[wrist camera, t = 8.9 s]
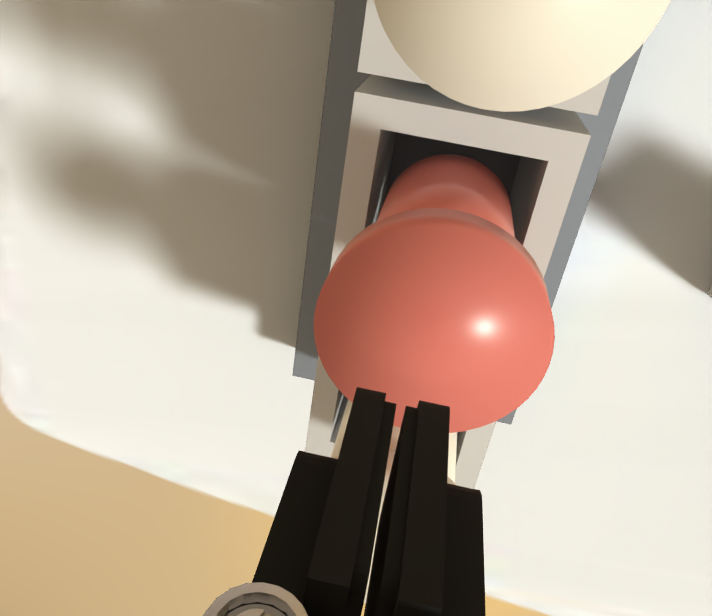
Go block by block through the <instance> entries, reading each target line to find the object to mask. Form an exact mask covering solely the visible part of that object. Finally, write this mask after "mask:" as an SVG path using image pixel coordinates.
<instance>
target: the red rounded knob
mask: <svg viewBox="0 0 712 616" xmlns="http://www.w3.org/2000/svg"><path fill="white" fill-rule="evenodd" d="M314 338H315V343H316V348H317V352H318V355H319V357H320V360H321V362H322V365H323V367H324V369H325V370H326V372H327V374H328V376H329V377H330V379H331V380H332V381H333V383H334V384H335V386H336V387H337V388H338V389H339V390H340V391H341V392H342V393H343V394H344V396H345V397H346V398H348V399H349V400H350V401H351V402H352V403H353V399H354V396H355V392H356V388H357V387H360V388H365V389H369V390H374V391H379V392H383V393H386V398H385V401H386V402H391V403H396V404H397V405H396V411H395V417H394V424H393V426H396V427H400V428H401V424H402V420H403V416H404V411H405V408H406V406H410V407H415V408H417V406H418V403H419V400H421V401H426V402H430V403H435V404H440V405H444V406H449V407H450V424H449V433H454V432H462V431H467V430H471V429H475V428H479V427H482V426H485V425H487V424H490V423H493V422H495V421H497V420H499V419H501V418H503V417H505V416H506V415H508V414H509V413H511V412H512V411H514V410H515V409H517V408H518V407H519V406H520V405H521V404H522V403H524V402H525V401H526V400H527V399H528V398H529V397H530V396H531V394H532V393H533V392H534V391H535V390H536V389H537V387H538V385H539V384H540V382H541V381H542V379H543V378H544V376H545V373H546V371H547V369H548V367H549V364H550V361H551V357H552V354H553V348H554V339H555V336H554V322H553V317H552V312H551V307H550V302H549V297H548V292H547V287H546V284H545V281H544V278H543V276H542V273H541V271H540V269H539V267H538V266H537V264H536V262H535V260H534V259H533V258H532V256H531V255H530V254H529V252H528V251H527V250H526V248H525V247H524V246H523V245H522V244H521V243H520V242H519V241H518V240H517V239H516V238H515V234H514V226H513V218H512V210H511V204H510V199H509V196H508V193H507V191H506V189H505V187H504V185H503V183H502V182H501V180H500V179H499V178H498V176H497V175H496V174H495V173H494V172H493V171H492V170H490V169H489V168H488V167H486V166H485V165H484V164H482V163H480V162H478V161H476V160H474V159H471V158H469V157H465V156H461V155H454V154H442V155H434V156H431V157H427V158H424V159H422V160H419V161H417V162H416V163H414V164H412V165H410V166H409V167H408V168H407V169H405V170H404V171H403V172H402V173H401V174H400V175H399V176H398V177H397V178H396V180H395V181H394V182H393V184H392V186H391V188H390V189H389V192H388V194H387V197H386V199H385V202H384V204H383V207H382V209H381V212H380V214H379V216H378V219H377V221H376V222H375V223H373V224H372V225H370V226H368V227H367V228H365V229H364V230H363V231H361V232H360V233H359V234H357V235H356V236H355V237H354V238H353V239H352V240H351V241H350V242H349V243H348V244H347V245H346V246H345V248H344V249H343V250H342V252H341V253H340V254H339V256H338V257H337V259H336V261H335V263H334V265H333V266H332V268H331V270H330V272H329V275H328V277H327V279H326V281H325V283H324V285H323V287H322V289H321V292H320V294H319V297H318V300H317V303H316V308H315V313H314Z"/></svg>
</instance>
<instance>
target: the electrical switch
mask: <svg viewBox="0 0 712 616" xmlns="http://www.w3.org/2000/svg"><path fill="white" fill-rule="evenodd" d="M707 294H708V295H709V296H710V297H712V285H711V287H710V289H709V291H708V293H707Z"/></svg>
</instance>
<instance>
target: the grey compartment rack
mask: <svg viewBox="0 0 712 616" xmlns="http://www.w3.org/2000/svg"><path fill="white" fill-rule="evenodd" d="M642 46H643V44H642V45H641V46H640V47H639V49H638V50H637V51H636V52H635V53H634V54H633V55H632V56H631V58H629V59H628V60H627V61H626V62H625V63H624V64H623V65H622V66H621V67H620V68H618V69H617V70H616V71H615V72H614V73H613V74H611V75H610V76H608V77H607V78H606V79H604V80H603V81H601V82H600V83H599V84H597V85H596V86H594V87H592V88H590V89H589V90H587V91H585V92H583V93H581V94H580V95H578V96H575V97H573V98H571V99H568V100H566V101H563V102H561V103H558V104H555V105H551V106H547V107H544V108H540V109H533V110H527V111H510V112H501V111H493V110H484V109H480V108H476V107H472V106H468V105H465V104H463V103H460V102H458V101H455V100H453V99H450V98H448V97H447V96H445V95H443V94H442V93H440V92H438V91H436V90H435V89H433V88H432V87H431V86H429V85H428V84H427V83H425V82H424V81H423V80H422V79H420V78H419V77H418V76H417V75H416V74H415V73H414V72H413V71H412V70H411V69H410V68H409V67H408V66H407V65H406V63H405V62H404V61H403V59H402V58H401V57H400V55H399V54H398V53H397V51H396V50H395V49H394V47H393V45H392V43H391V42H390V40H389V38H388V36H387V34H386V33H385V31H384V28H383V26H382V23H381V21H380V18H379V16H378V14H377V10H376V6H375V3H374V0H336V1H335V10H334V19H333V28H332V36H331V45H330V54H329V62H328V71H327V80H326V89H325V97H324V106H323V115H322V123H321V132H320V141H319V149H318V158H317V167H316V176H315V184H314V193H313V202H312V210H311V219H310V228H309V237H308V245H307V254H306V263H305V271H304V280H303V289H302V298H301V306H300V315H299V324H298V332H297V341H296V350H295V359H294V367H293V376H297V377H302V378H306V379H311V380H315V383H314V390H313V398H312V405H311V412H310V420H309V427H308V434H307V441H306V449H305V452H308V453H312V454H317V455H321V456H326V457H330V458H331V455H332V451H333V448H334V445H335V441H336V438H337V435H338V432H339V428H340V425H341V422H342V418H343V415H344V412H345V408H346V405H347V402H348V398H346V397H345V396H344V394H343V393H342V392H341V391H340V390H339V389H338V388H337V387H336V386H335V384H334V383H333V381H332V380H331V379H330V377H329V376H328V374H327V372H326V370H325V369H324V367H323V365H322V362H321V360H320V357H319V355H318V352H317V348H316V343H315V338H314V313H315V308H316V303H317V300H318V297H319V294H320V292H321V289H322V287H323V285H324V283H325V281H326V279H327V277H328V275H329V272H330V270H331V268H332V266H333V265H334V263H335V261H336V259H337V257H338V256H339V254H340V253H341V252H342V250H343V249H344V248H345V246H346V245H347V244H348V243H349V242H350V241H351V240H352V239H353V238H354V237H355V236H356V235H357V234H359V233H360V232H361V231H363V230H364V229H365V228H367V227H368V226H370V225H372V224H373V223H375V222H376V221H377V219H378V216H379V214H380V212H381V209H382V207H383V204H384V202H385V199H386V197H387V194H388V192H389V189H390V188H391V186H392V184H393V182H394V181H395V180H396V178H397V177H398V176H399V175H400V174H401V173H402V172H403V171H404V170H405V169H407V168H408V167H409V166H410V165H412V164H414V163H416V162H417V161H419V160H422V159H424V158H427V157H431V156H434V155H442V154H454V155H461V156H465V157H469V158H471V159H474V160H476V161H478V162H480V163H482V164H484V165H485V166H486V167H488V168H489V169H490V170H492V171H493V172H494V173H495V174H496V175H497V176H498V178H499V179H500V180H501V182H502V183H503V185H504V187H505V189H506V191H507V193H508V196H509V199H510V204H511V210H512V218H513V226H514V234H515V238H516V239H517V240H518V241H519V242H520V243H521V244H522V245H523V246H524V247H525V248H526V250H527V251H528V252H529V254H530V255H531V256H532V258H533V259H534V260H535V262H536V264H537V266H538V267H539V269H540V271H541V273H542V276H543V278H544V281H545V284H546V287H547V292H548V297H549V302H550V307H551V308H552V305H553V302H554V299H555V296H556V294H557V291H558V288H559V285H560V282H561V279H562V276H563V273H564V271H565V268H566V265H567V262H568V259H569V256H570V253H571V250H572V248H573V245H574V242H575V239H576V236H577V233H578V230H579V227H580V225H581V222H582V219H583V216H584V213H585V210H586V207H587V204H588V202H589V199H590V196H591V193H592V190H593V187H594V184H595V181H596V179H597V176H598V173H599V170H600V167H601V164H602V161H603V158H604V156H605V153H606V150H607V147H608V144H609V141H610V138H611V135H612V133H613V130H614V127H615V124H616V121H617V118H618V115H619V112H620V110H621V107H622V104H623V101H624V98H625V95H626V92H627V89H628V87H629V84H630V81H631V78H632V75H633V72H634V69H635V66H636V64H637V61H638V58H639V55H640V52H641V49H642ZM515 411H516V409H515V410H514V411H512V412H511V413H509V414H508V415H506V416H505V417H503V418H501V419H499V420H497V421H498V422H502V423H507V424H511V423H512V420H513V417H514V414H515ZM495 424H496V421H495V422H493V423H490V424H487V425H485V426H482V427H479V428H475V429H471V430H467V431H462V432H457V448H456V469H455V484H456V485H457V486H462V487H466V488H471V489H474V487H475V484H476V481H477V478H478V475H479V472H480V469H481V466H482V463H483V460H484V457H485V454H486V451H487V448H488V445H489V442H490V439H491V436H492V433H493V430H494V427H495Z"/></svg>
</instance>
